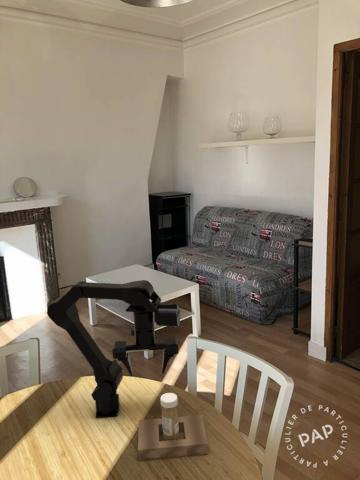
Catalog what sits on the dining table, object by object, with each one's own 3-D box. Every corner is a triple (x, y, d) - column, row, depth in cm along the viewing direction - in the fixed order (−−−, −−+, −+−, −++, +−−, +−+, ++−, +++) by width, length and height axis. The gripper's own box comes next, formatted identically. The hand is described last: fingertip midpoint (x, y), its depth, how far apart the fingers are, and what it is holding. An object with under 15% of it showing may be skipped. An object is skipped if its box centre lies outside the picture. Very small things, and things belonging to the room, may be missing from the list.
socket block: (138, 460, 107) (137, 450, 106) (139, 429, 118) (138, 420, 118) (208, 453, 108) (207, 443, 107) (202, 424, 120) (202, 414, 119)
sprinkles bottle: (182, 442, 112) (180, 397, 110) (168, 449, 110) (165, 404, 107) (174, 433, 116) (171, 390, 113) (159, 440, 114) (157, 395, 111)
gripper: (174, 312, 128) (177, 358, 131) (113, 316, 127) (117, 363, 130) (177, 327, 117) (179, 377, 120) (110, 331, 116) (114, 382, 119)
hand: (147, 374), depth 123 cm, fingers open, 9 cm apart
